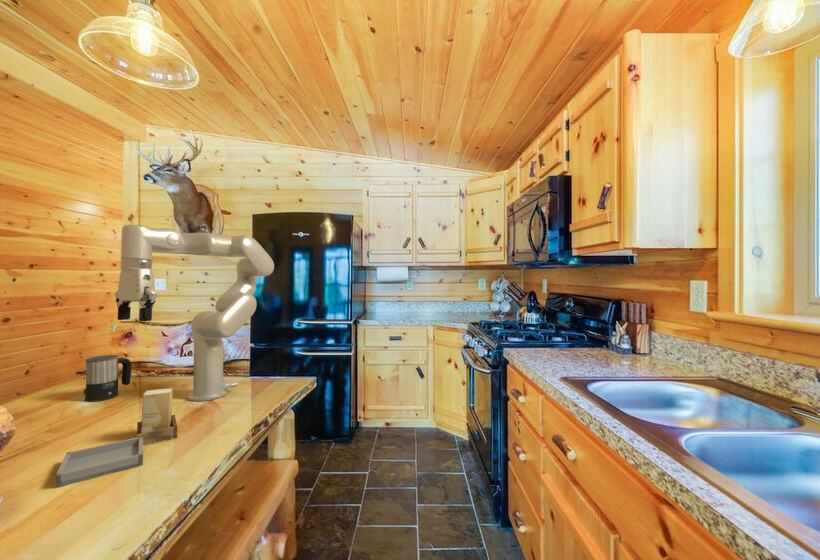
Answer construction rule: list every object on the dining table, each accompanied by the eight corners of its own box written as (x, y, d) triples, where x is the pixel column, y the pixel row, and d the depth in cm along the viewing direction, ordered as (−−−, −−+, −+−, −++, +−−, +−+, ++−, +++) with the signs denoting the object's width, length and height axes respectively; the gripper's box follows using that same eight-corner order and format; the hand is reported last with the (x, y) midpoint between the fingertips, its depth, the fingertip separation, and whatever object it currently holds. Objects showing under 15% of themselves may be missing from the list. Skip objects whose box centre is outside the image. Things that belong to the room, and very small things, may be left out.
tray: (142, 445, 87) (143, 436, 87) (142, 465, 77) (142, 454, 77) (66, 463, 78) (66, 452, 78) (55, 487, 69) (55, 476, 69)
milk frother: (102, 402, 118) (102, 360, 118) (57, 402, 118) (58, 360, 118) (135, 389, 132) (136, 352, 132) (96, 389, 132) (97, 351, 132)
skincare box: (140, 441, 89) (141, 395, 89) (144, 434, 93) (144, 390, 93) (169, 436, 92) (170, 391, 92) (172, 430, 96) (172, 387, 96)
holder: (174, 424, 99) (174, 414, 99) (177, 437, 91) (177, 426, 91) (137, 432, 94) (137, 422, 94) (136, 447, 86) (136, 435, 86)
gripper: (168, 265, 105) (166, 320, 104) (130, 266, 110) (129, 318, 110) (142, 263, 98) (140, 322, 97) (103, 264, 103) (101, 320, 103)
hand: (134, 320), depth 104 cm, fingers open, 9 cm apart
